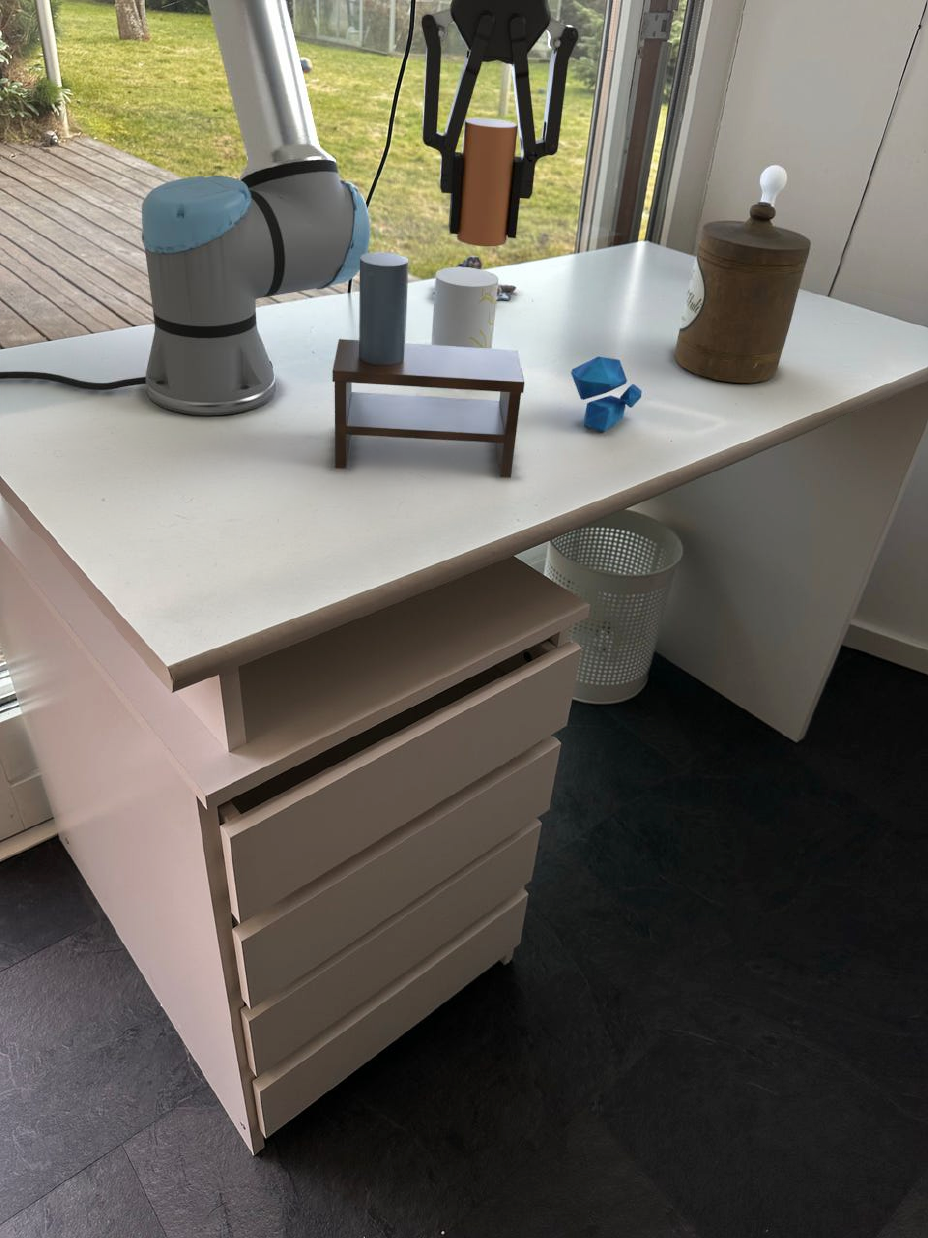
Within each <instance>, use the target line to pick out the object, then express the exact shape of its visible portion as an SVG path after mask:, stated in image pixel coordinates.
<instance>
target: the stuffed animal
mask: <svg viewBox="0 0 928 1238" xmlns="http://www.w3.org/2000/svg"><path fill="white" fill-rule="evenodd" d="M482 263H483V262H482V260H481V259H480V257H479V256H477V255H474V254H471V255H468V257H466V258H465V259H463V260H462V263H461V262H459V263H458V264H457V265H456V266H455V267H469V268H476V269H481V270H482V267H483V264H482ZM516 289H517V286H515V285H509V284H500V285H499V284H498V288H497V298H496V301H500V300H501V301H509V300H511V298H512V296H511V294H512V293H513V292H515V291H516ZM434 292H435V291H433V292H432V295H433V296H434ZM432 300H434V297H432Z"/></svg>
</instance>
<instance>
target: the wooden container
mask: <svg viewBox="0 0 928 1238" xmlns="http://www.w3.org/2000/svg"><path fill="white" fill-rule="evenodd" d="M776 214H777V211H776V209H775V206H774V207H772V206H771V204H770V203H767V202H760V201H758V202H757V203H755V204H753V205H751V206H750V209H749V218H748V219H747V220H746V221H743V220H717V221H716V220H715V221H709V222H706V223H705V224H703V225H702V228H701V231H700V236H699V240H698V243H697V244H698V245H697V250H696V251H697V252H696V256H695V260H694V264H693V268H692V272H691V277H690V282H689V285H688V289H687V292H686V297H685V302H684V306H683V310H682V316H681V320H680V325H679V329H678V335H677V340H676V345H675V349H674V356H673V357H674V359H675V361H676V363H677V364H678V365H680V366H681V367H682V368H684V369H686V370H687V371H689V372H691V373H693V374H695V375H698V376H701V377H703V378H708V379H711V380H715V381H720V382H726V383H737V384H753V383H755V384H756V383H760V382H761V383H762V382H765V381H768V380H770V379H772V378H774V376H775V375H776V374H777V371H778V368H779V364H780V361H781V359H782V353H783V350H784V346H785V343H786V341H787V336H788V333H789V330H790V325H791V322H792V320H793V319H792V318H793V315H794V310H795V305H796V302H797V298H798V294H799V291H800V287H801V284H802V279H803V275H804V271H805V267H806V265H807V261H808V258H809V256H810V252H811V246H812V241H811V239H809V238H808V237H806V236H805V235H803V234H801V233H800V232H799V233H798V232H796V231H793V230H790V229H788V228H787V229H786V228H784V227H780V226H776V225H774V224H773V223H772V220H773V219H774V218H775V217H776ZM770 220H771V221H770Z"/></svg>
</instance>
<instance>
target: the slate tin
mask: <svg viewBox="0 0 928 1238" xmlns="http://www.w3.org/2000/svg"><path fill="white" fill-rule="evenodd" d="M408 280H409V259H408V258H407V257H406V256H403V255H401V254H398V253H394V252H393V253H392V252H386V251H385V252H384V251H382V252H381V251H374V252H367V254H363V255H362V256H360V270H359V287H358V288H359V291H358V293H359V294H358V295H359V296H358V297H359V299H358V301H359V302H358V303H359V305H358V306H359V307H358V316H359V317H358V340H359V358H360V359H361V360H363V361H364V362H367V363H370V364H374V365H394V364H398V363H400V362H402V361H403V360H404V357H405V343H406V330H407V329H406V328H407V307H408V306H407V305H408Z"/></svg>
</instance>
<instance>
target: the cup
mask: <svg viewBox="0 0 928 1238" xmlns="http://www.w3.org/2000/svg"><path fill="white" fill-rule="evenodd" d="M434 275H435V279H434V291H433V292H434V295H433V298H434V299H433V310H432V311H433V313H432V329H431V344H430V345H440V346H456V347H472V348H487V349H493V348H492V347H493V336H494V328H495V327H494V326H495V317H496V308H497V307H496V306H497V300H496V298H497V288H498V286H499V277H498V276H497V275H496V274H495V273H492V272H491V271H488V270H485V269H482V268H481V269H476V268H469V267H456V266H450V267H444V268H440V269H439V270H437V271H436V272H435V274H434Z"/></svg>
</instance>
